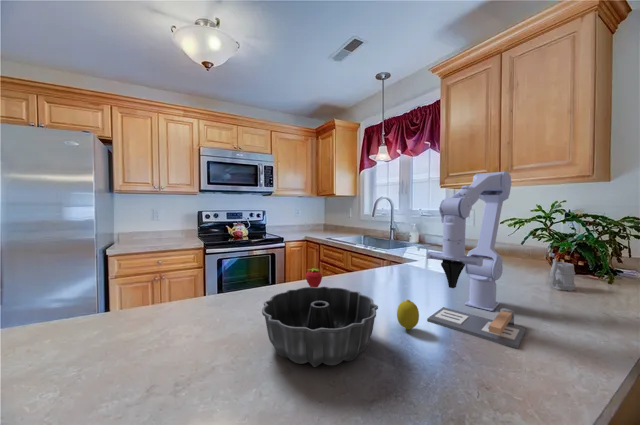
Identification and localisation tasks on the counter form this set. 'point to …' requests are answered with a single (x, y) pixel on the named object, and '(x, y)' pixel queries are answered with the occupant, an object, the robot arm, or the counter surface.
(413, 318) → the lemon
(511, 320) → the shiny grey curved piece
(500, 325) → the bar
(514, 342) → the panel
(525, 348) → the counter surface
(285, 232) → the counter surface
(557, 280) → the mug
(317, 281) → the strawberry
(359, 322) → the bundt pan
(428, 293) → the counter surface
